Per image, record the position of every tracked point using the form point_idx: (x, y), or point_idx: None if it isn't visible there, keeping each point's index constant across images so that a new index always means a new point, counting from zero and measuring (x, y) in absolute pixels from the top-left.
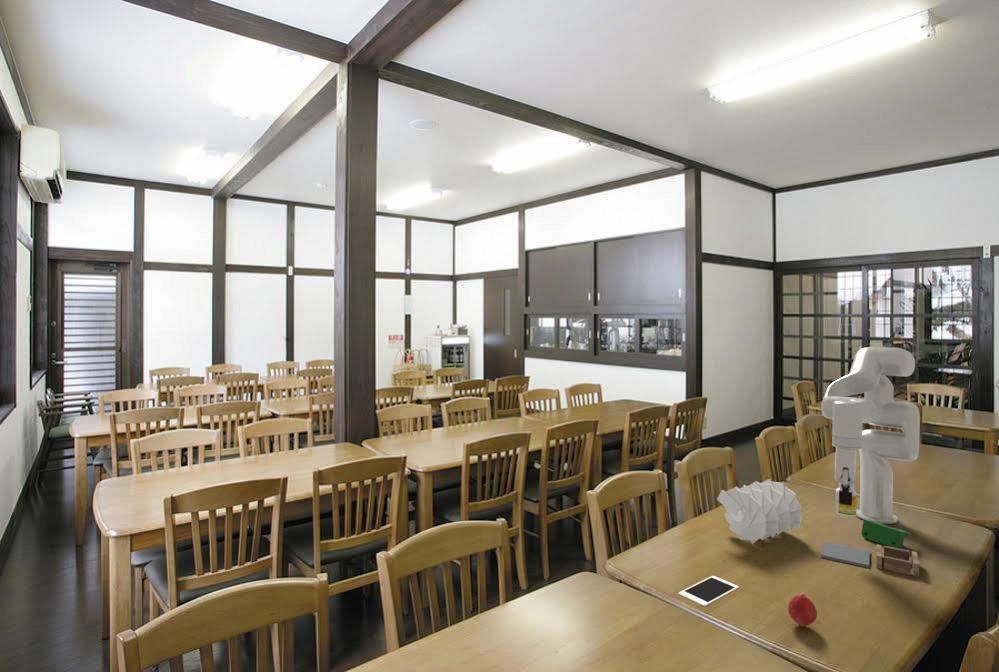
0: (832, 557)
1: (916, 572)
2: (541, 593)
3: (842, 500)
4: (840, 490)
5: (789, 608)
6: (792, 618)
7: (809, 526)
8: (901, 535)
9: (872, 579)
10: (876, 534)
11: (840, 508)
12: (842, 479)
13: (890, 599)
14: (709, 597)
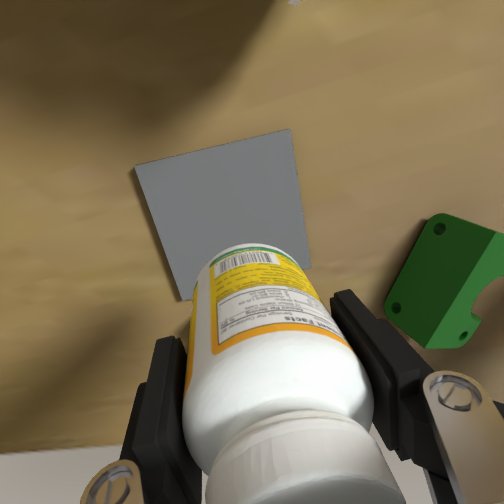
0: (148, 205)
1: None
2: None
3: (139, 390)
4: (90, 486)
5: None
6: None
7: (455, 12)
8: (417, 340)
9: (105, 324)
10: (430, 264)
11: (192, 308)
12: (451, 480)
13: (16, 383)
14: None
